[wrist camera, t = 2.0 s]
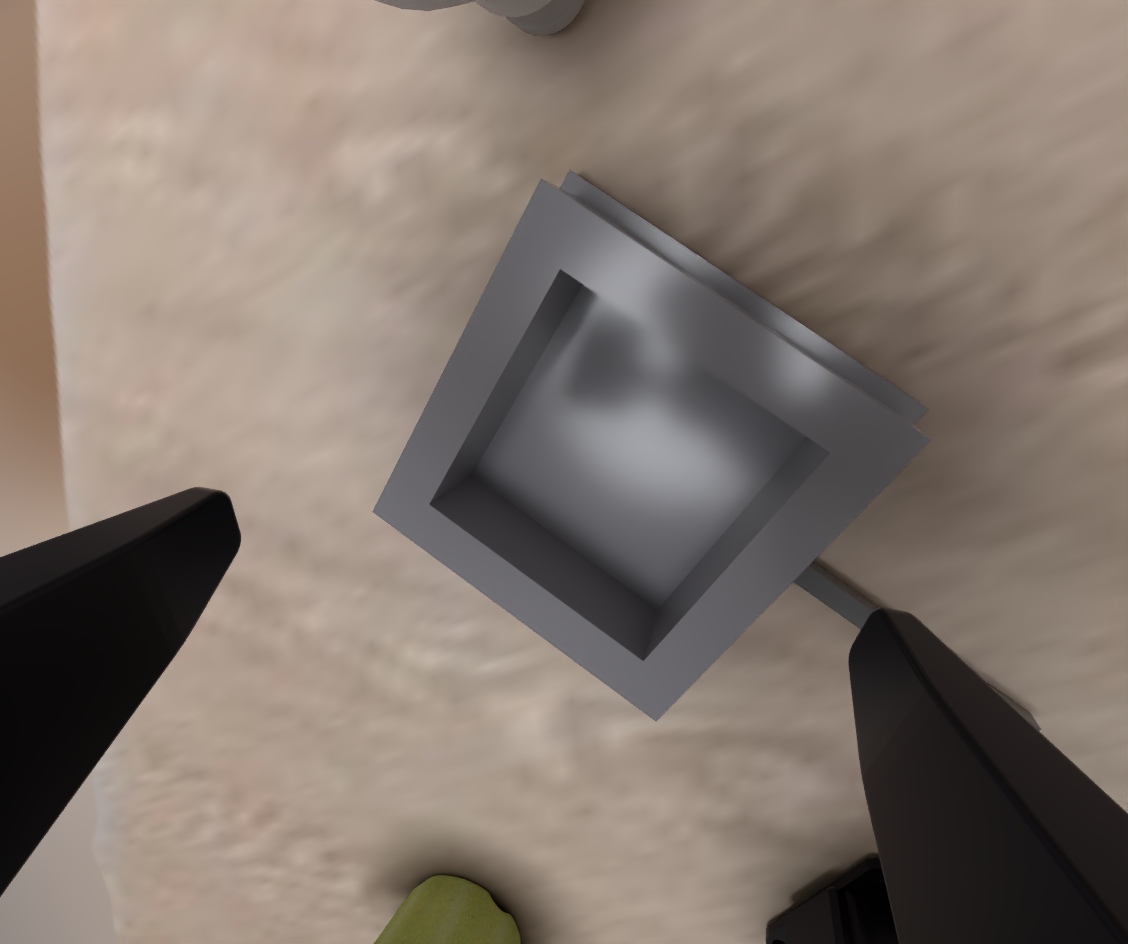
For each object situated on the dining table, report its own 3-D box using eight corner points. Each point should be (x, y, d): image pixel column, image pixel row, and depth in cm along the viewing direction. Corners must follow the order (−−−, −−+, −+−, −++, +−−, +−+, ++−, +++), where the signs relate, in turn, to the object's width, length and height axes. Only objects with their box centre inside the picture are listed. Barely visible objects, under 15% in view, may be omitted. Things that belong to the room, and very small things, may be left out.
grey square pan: (1203, 591, 16) (1332, 678, 12) (882, 818, 21) (909, 925, 17) (577, 174, 17) (534, 146, 14) (415, 478, 22) (354, 514, 19)
